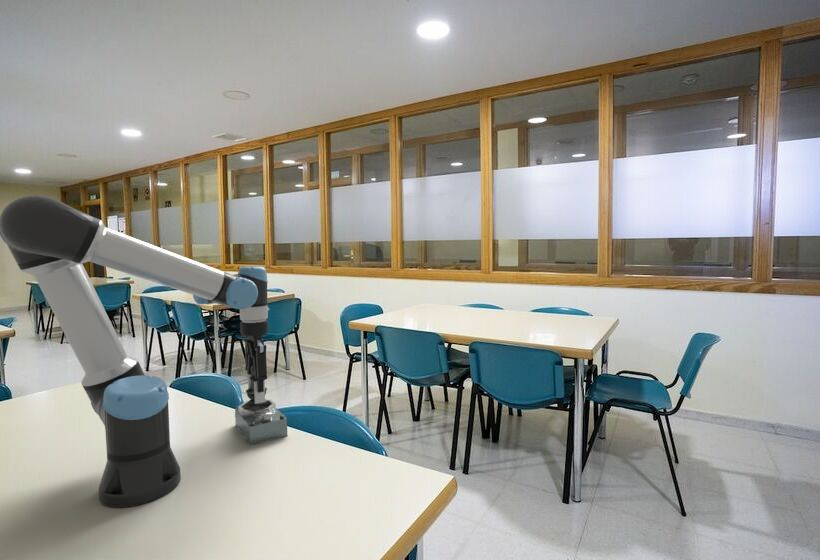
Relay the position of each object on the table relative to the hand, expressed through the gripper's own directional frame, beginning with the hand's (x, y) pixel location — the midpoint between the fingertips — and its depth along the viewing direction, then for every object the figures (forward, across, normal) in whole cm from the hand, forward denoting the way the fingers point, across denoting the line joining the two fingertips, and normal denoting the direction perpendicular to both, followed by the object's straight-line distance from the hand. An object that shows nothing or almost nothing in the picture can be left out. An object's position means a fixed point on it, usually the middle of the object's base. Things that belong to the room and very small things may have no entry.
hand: (256, 399), depth 126 cm
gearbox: (+8, -3, 0) cm, 9 cm away
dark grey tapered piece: (+1, 0, 0) cm, 1 cm away
